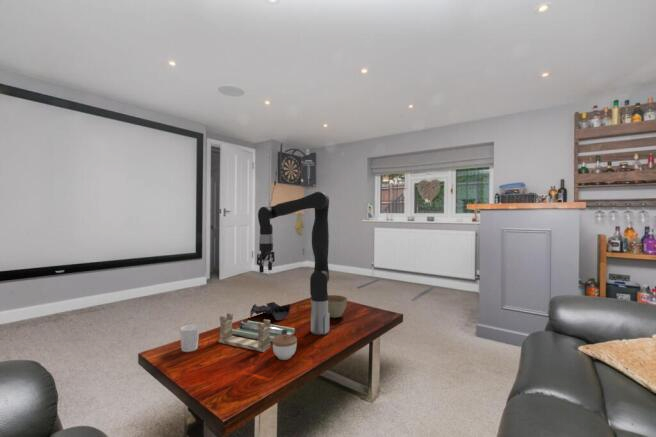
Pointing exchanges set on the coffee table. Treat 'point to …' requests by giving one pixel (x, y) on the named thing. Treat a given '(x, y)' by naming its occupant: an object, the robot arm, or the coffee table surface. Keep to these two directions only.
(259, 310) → the grey mechanical device
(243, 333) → the mat tray
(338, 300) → the planter bowl
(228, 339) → the rack
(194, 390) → the coffee table surface
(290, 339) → the lidded jar
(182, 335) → the white cup
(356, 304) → the coffee table surface
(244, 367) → the coffee table surface
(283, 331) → the steel rod
